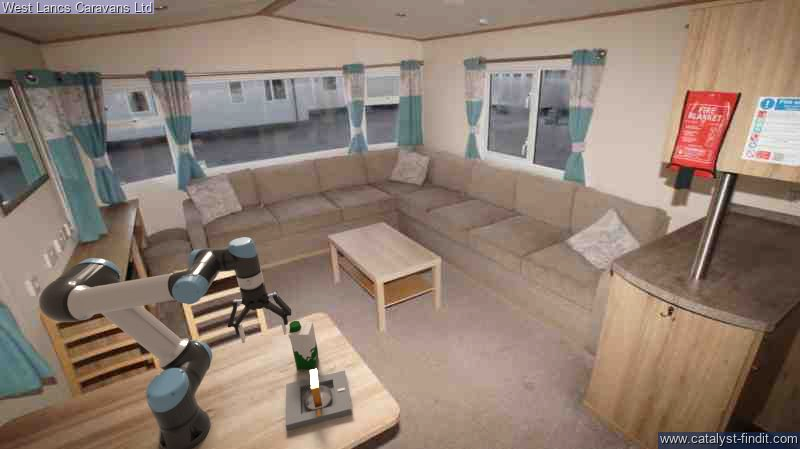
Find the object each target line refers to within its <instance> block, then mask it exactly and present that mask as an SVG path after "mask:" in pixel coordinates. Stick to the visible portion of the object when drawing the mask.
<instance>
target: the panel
mask: <svg viewBox="0 0 800 449" xmlns="http://www.w3.org/2000/svg"><path fill="white" fill-rule="evenodd" d="M318 378H319V383H320V385H322V386H326V387H328V388H329V389H330V390H331V392H332V401H331V403H330V404H329V406H328V407H326V408H323V409H318V410H315V411H310V410H308V409H307V408H306V407H305V405H304V395H305V394H306V392H307V391H308V390H309V389H311V377H310V378H307V379H302V380H298V381H294V382H290V383H286V385H285V387H286V388H285V427H286V431H291V430H294V429H298V428H302V427H306V426H309V425H313V424H314V425H315V424H317V423H322V422H326V421H329V420H333V419H337V418H340V417H344V416H349V415H353V409H352V402H351V397H350V392H349V386H348V380H347V374H346V370H341V371H337V372H332V373H327V374H324V375H320V376H319V375H318Z"/></svg>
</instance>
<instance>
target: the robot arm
mask: <svg viewBox="0 0 800 449" xmlns="http://www.w3.org/2000/svg"><path fill="white" fill-rule="evenodd" d="M256 246H257V245H256V244H255V241H254V239H253V238H251V237H248V236H247V237H245V236H243V237H239V238H234V239H233V240H231V241H229V243H228V246H223V247H221V246H220V247H209V248H208V247H207V248H206V247H205V248H204V247H202V248H198V249H194V250H192V251H191V252H190V254H189V257H188V259H187V260H188V262H187V263H188V268H186V270H181V271H177V272H172V273H166V274H162V275H161V274H160V275H156V276H149V277H143V278H142V277H141V278H137V279H131V280H125V281H122V280H121V276H122V274H121V270H120V269H119V267H118V266H117V265H116V264H115V263H113V262H112V261H110V260H107V259H104V258H100V257H99V258H96V257H91V258H86V259H84V260H82V261H81V262H79V263H77V264H75V265H73V266H72V267H71V268H70V269H68V270H67V271H66V272H64V273H63V274H62V275H60V276H59V277H57V278H56V279H55V280H54V281H52V282H50V283H48V285H46V287H44V288H43V290H42V291H41V294H40V296H39V299H38V300H39V301H38V304H39V305H38V306H39V308H40V310H41V312H42V313H43V315H45V316H46V317H47V318H49V319H51V320H53V321H55V322H60V323H73V322H74V323H75V322H80V321H85V320H88V319H91V318H92V317H93V316H94V315H99V314H101V315H103V317H104V318H106V319H107V320H109V321H110V322H111V323H112V324H114V325H115V326H116V327H118V328H119V329H120V330H121V331H123V332H124V333H125V334H126V335H128V336H129V337H130V338H132V339H133V340H134V341H135V342H136V343H138V345H140V346H142V347H143V348H144V349H145V350H146V351H147V352H149V353H150V354H151V355H152V356H154V357H155V358H156V359H158V367H159V368H160V369H162V371H161V372H160V373H159V375H158V374H157V375H156V376H154V377H153V378H152V379H151V380H150V382H149V383H148V385H147V388H146V391H145V397H146V400H147V406H148V407H149V409H150V411H151V412H152V415H153V417H154V418H155V420H156V422H157V425H158V428H159V429H158V443H159V446H160V448H161V449H194V448H195V447H197V446H199V444H201V442H202V441H204V439H205V438H206V437H207V435H208V433H209V432H210V430H211V425H212V424H211V419H210V416H209V414H208V413H207V411H205V410H204V409H203V408H202V407H200V405H199V404H198V403H197V402H198V401H197V399H196V393H197V391H198V389H199V387H200V386H201V384H202V382H203V379H204V378H205V376H206V374H207V372H208V371H209V369H210V366H211V363H212V361H213V352H212V350H211V348H210V346H209V345H208V344H207V343H206V342H204V341H202V340H199V341H198V340H197V339H191V340H190V339H189V338H185V337H184V338H180V336H178V335H177V334H176V333H174V332H173V331H172V330H171V329H169V327H167V326H166V325H165V324H164V323H163V322H161V321H160V320H159V319H158V318H157V317H155V316H154V315H153V314H152V313H151V312H150V311H148V310H147V309H146V308H145V307H144V306H147V305H154V304H159V303H164V302H170V301H177V302H179V303H180V304H186V305H193V304H196V303H197V302H199V301H200V300H201V299H202V298H203V297H204V296H205V294H206V293H207V292H208V290H209V288H210V287H211V285H212V283H213V282H214V281H215V279H216V278H217V276H218V275H219V273H223V272H225V273H226V272H232V271H234V274H235V277H236V280H237V284H238V287H239V292H240V295H241V298H240V299H238V298H237V297H234V298H233V300H232V309H231V312H230V316H229V319H228V322H227V328H234V330H235V334H236V335H237V336H238V335H239V336H240V339H241V343H242V344H245V343H246V335H245V330H244V327H243V324H242V321H243V320H244V318H245V317H246V315H247V314H248V313H249V312H250V311H256V310H263V308H265V309H266V310H269V311H271V313H273V314H276V315H277V316H279V317H280V322H281V327H282V331H283V335H285V336H286V335H287V326H288V325H289V320H288V317H291V315H292V309H291V308H290V306H289V305H288V304H287V303H286V302H284V300H283V299H282V298H281V296H279V294H278V292H277V290H274V291H273V292H272V293H268V292H267V289H266V285H265V284H266V283H265V281H264V275H263V272H262V267H261V263H260V259H259V254H258V253H259V252H258V249H257V247H256ZM270 299H271V300H272V301H274V303H276V304H274V303H273V302H272V301H271V300H270ZM241 304H242V305H243V306H244V307H243V309H242V310H241V312H240V313H239V314H238V316H237V318H236V319H235V316H236V313H237V310H238V308H239V307H240V306H241ZM234 319H235V320H234Z"/></svg>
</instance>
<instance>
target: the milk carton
mask: <svg viewBox="0 0 800 449" xmlns="http://www.w3.org/2000/svg"><path fill="white" fill-rule="evenodd" d="M288 325H289V331H288V333H287V334H288V338H289V341H290V343H291V344H290V345H291V349H292V354H293V356H294V358H293V359H294V363H295V366H296V370H297V371H298V370H299V371H301V370H302V371H303V370H309V371H310V370H314V369H316V367H317V362H318V360H319V351H318V350H319V349H318V344H317V339H316V334H315V327H314V322H313V321H299V320H293V321H291V322H290V323H288Z"/></svg>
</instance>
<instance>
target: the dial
mask: <svg viewBox="0 0 800 449" xmlns="http://www.w3.org/2000/svg"><path fill="white" fill-rule="evenodd" d="M309 375H310V378H311V389H309V390H308V391H307V392H306V394H305V395H304V405H305V407H306V408H307V409H308V410H310V411H315V410H318V409H323V408H326V407H328V406H329V404H330V403H331V401H332V392H331V390H330V389H329V388H328V387H326V386H322V385H320V383H319V378H318V377H319V373H318V369H317V368H315V369H309Z"/></svg>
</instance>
